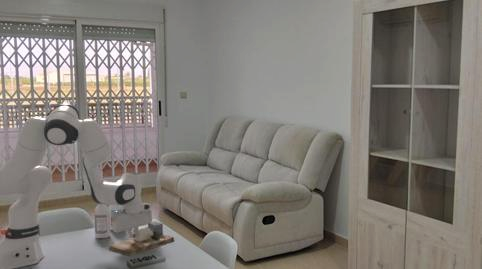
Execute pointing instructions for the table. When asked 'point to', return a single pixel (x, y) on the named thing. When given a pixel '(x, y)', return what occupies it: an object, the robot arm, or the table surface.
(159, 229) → the dark grey cube
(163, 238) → the wooden tray
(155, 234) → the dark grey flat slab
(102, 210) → the bath foam
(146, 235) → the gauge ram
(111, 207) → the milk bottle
